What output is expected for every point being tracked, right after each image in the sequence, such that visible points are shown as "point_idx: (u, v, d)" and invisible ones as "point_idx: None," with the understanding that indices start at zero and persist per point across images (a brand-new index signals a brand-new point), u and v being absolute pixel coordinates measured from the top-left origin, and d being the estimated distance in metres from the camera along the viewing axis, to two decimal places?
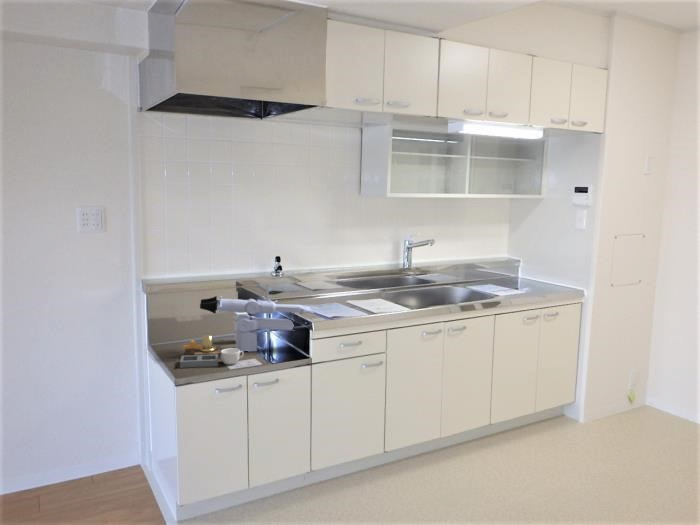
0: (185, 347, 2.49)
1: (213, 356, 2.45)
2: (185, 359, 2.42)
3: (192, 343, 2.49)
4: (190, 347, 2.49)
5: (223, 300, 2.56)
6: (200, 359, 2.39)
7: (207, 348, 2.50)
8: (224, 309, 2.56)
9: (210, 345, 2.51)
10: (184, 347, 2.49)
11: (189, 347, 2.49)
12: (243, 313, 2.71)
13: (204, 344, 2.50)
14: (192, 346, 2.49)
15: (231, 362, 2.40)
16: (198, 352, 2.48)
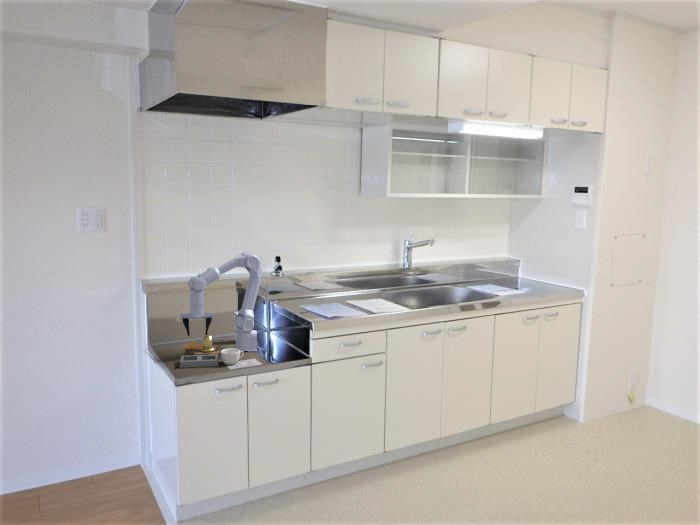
0: (185, 347, 2.49)
1: (213, 356, 2.45)
2: (185, 359, 2.42)
3: (192, 343, 2.49)
4: (190, 347, 2.49)
5: (200, 314, 2.47)
6: (200, 359, 2.39)
7: (207, 348, 2.50)
8: None
9: (210, 345, 2.51)
10: (184, 347, 2.49)
11: (189, 347, 2.49)
12: None
13: (204, 344, 2.50)
14: (192, 346, 2.49)
15: (231, 362, 2.40)
16: (198, 352, 2.48)
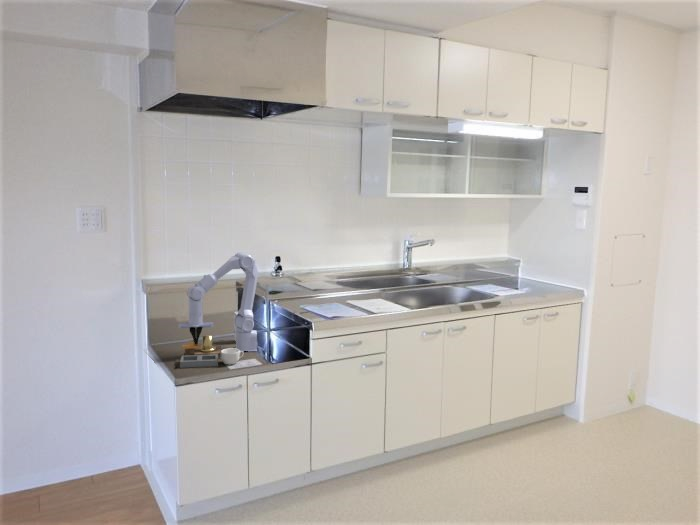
0: (184, 347, 2.49)
1: (213, 356, 2.45)
2: (185, 359, 2.42)
3: (191, 343, 2.49)
4: (189, 347, 2.49)
5: (198, 323, 2.47)
6: (200, 359, 2.39)
7: (207, 348, 2.50)
8: None
9: (210, 345, 2.51)
10: (183, 347, 2.49)
11: (188, 347, 2.49)
12: None
13: (204, 344, 2.50)
14: (191, 346, 2.49)
15: (231, 362, 2.40)
16: (198, 352, 2.48)
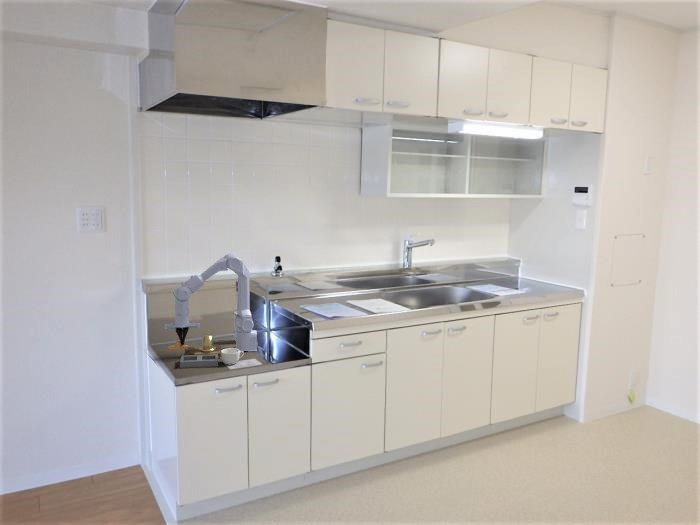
0: (170, 348, 2.48)
1: (213, 356, 2.45)
2: (185, 359, 2.42)
3: (177, 344, 2.48)
4: (175, 348, 2.48)
5: (185, 323, 2.46)
6: (200, 359, 2.39)
7: (207, 348, 2.50)
8: None
9: (210, 345, 2.51)
10: (169, 348, 2.47)
11: (174, 348, 2.48)
12: None
13: (204, 344, 2.50)
14: (177, 347, 2.48)
15: (231, 362, 2.40)
16: (198, 352, 2.48)
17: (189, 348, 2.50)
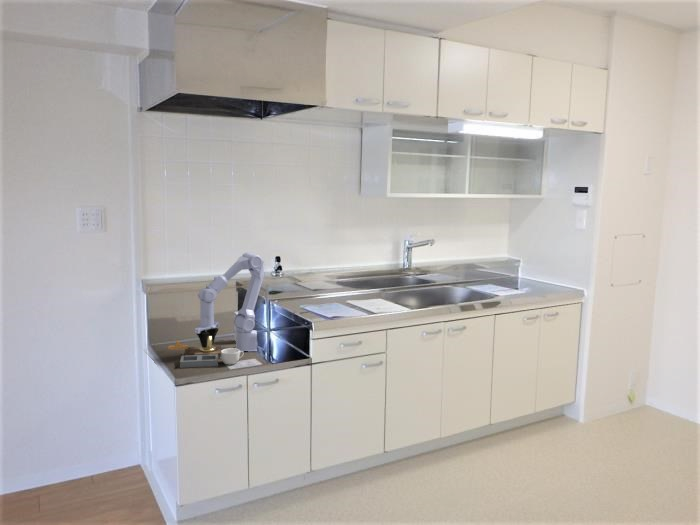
0: (170, 348, 2.48)
1: (213, 356, 2.45)
2: (185, 359, 2.42)
3: (177, 344, 2.48)
4: (175, 348, 2.48)
5: (213, 323, 2.51)
6: (200, 359, 2.39)
7: (207, 348, 2.50)
8: None
9: (210, 345, 2.51)
10: (169, 348, 2.47)
11: (174, 348, 2.48)
12: None
13: None
14: (177, 347, 2.48)
15: (231, 362, 2.40)
16: (198, 352, 2.48)
17: (189, 348, 2.50)
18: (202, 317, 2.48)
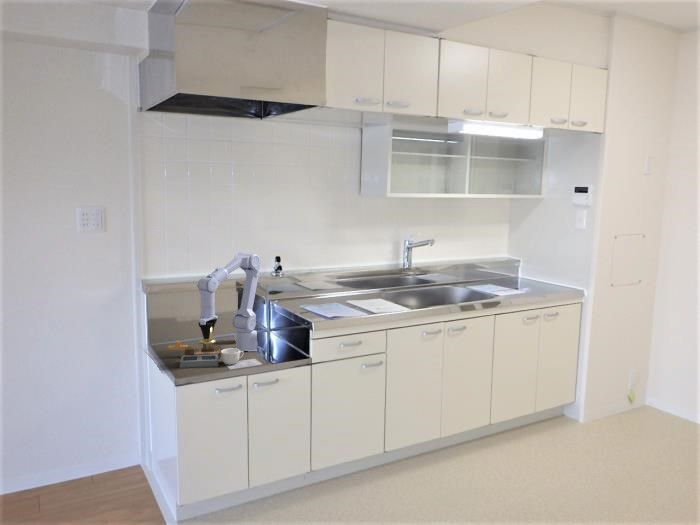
0: (170, 348, 2.48)
1: (213, 356, 2.45)
2: (185, 359, 2.42)
3: (177, 344, 2.48)
4: (175, 348, 2.48)
5: None
6: (200, 359, 2.39)
7: (209, 340, 2.42)
8: None
9: (211, 336, 2.42)
10: (169, 348, 2.47)
11: (174, 348, 2.48)
12: None
13: None
14: (177, 347, 2.48)
15: (231, 362, 2.40)
16: (198, 352, 2.48)
17: (189, 348, 2.50)
18: (204, 308, 2.39)
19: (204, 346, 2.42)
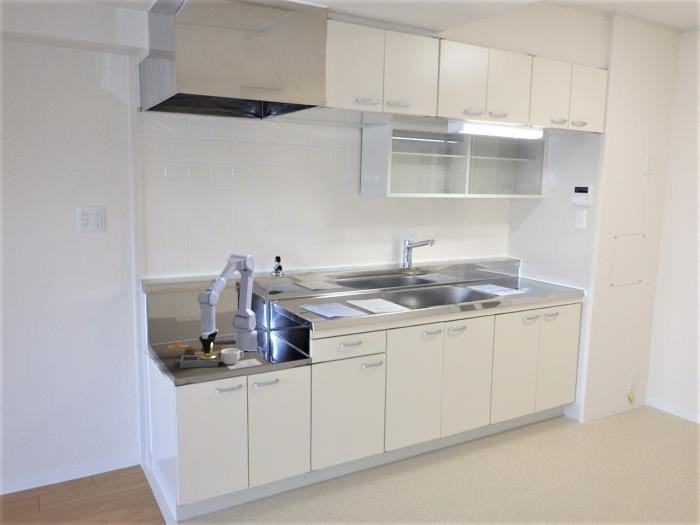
0: (170, 348, 2.48)
1: None
2: (185, 359, 2.42)
3: (177, 344, 2.48)
4: (175, 348, 2.48)
5: None
6: (200, 359, 2.39)
7: (210, 355, 2.40)
8: None
9: (212, 352, 2.41)
10: (169, 348, 2.47)
11: (174, 348, 2.48)
12: None
13: None
14: (177, 347, 2.48)
15: (231, 362, 2.40)
16: (198, 352, 2.48)
17: (189, 348, 2.50)
18: (206, 321, 2.37)
19: None
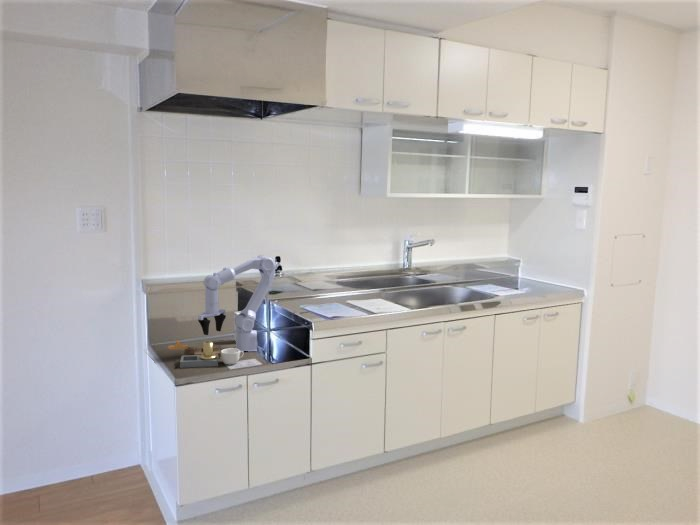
0: (170, 348, 2.48)
1: None
2: (185, 359, 2.42)
3: (177, 344, 2.48)
4: (175, 348, 2.48)
5: (218, 311, 2.53)
6: (200, 359, 2.39)
7: (210, 355, 2.40)
8: None
9: (212, 352, 2.41)
10: (169, 348, 2.47)
11: (174, 348, 2.48)
12: None
13: (206, 352, 2.39)
14: (177, 347, 2.48)
15: (231, 362, 2.40)
16: (198, 352, 2.48)
17: (189, 348, 2.50)
18: (206, 304, 2.50)
19: None
